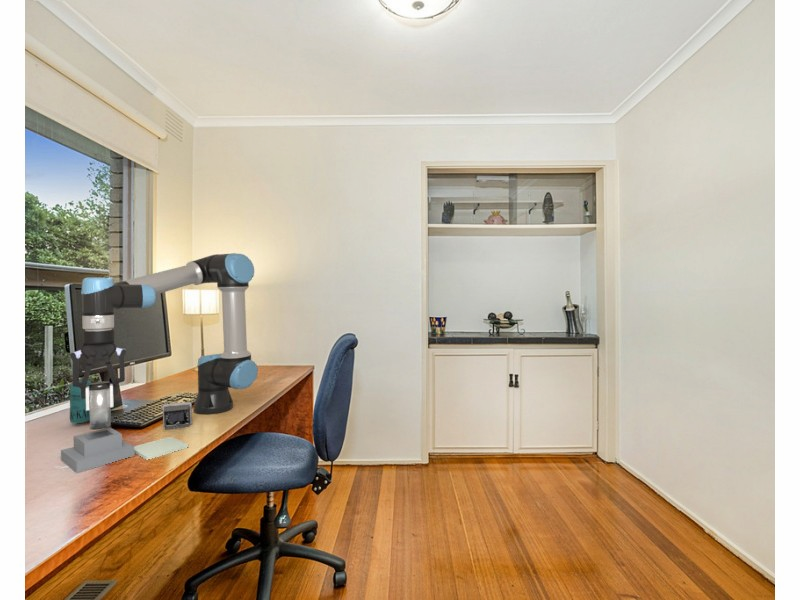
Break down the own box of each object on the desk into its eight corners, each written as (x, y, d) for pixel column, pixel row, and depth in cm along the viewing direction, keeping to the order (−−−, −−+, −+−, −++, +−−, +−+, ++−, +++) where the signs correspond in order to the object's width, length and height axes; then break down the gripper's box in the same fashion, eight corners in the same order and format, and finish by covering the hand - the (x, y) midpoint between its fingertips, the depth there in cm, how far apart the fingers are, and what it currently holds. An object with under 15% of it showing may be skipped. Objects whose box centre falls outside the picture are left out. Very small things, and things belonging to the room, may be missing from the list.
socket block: (116, 445, 130) (116, 424, 129) (134, 456, 121) (134, 433, 121) (61, 460, 118) (60, 436, 118) (76, 473, 110) (76, 447, 110)
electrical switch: (192, 424, 151) (191, 400, 150) (191, 429, 146) (190, 405, 145) (163, 427, 147) (162, 402, 146) (161, 433, 143) (160, 408, 142)
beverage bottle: (73, 422, 152) (73, 369, 151) (94, 420, 154) (94, 368, 154) (66, 428, 146) (65, 373, 145) (88, 426, 148) (87, 372, 147)
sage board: (170, 439, 135) (170, 436, 135) (188, 447, 128) (188, 444, 128) (130, 450, 126) (130, 447, 126) (146, 460, 118) (146, 457, 118)
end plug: (107, 422, 124) (106, 380, 123) (113, 426, 121) (112, 382, 120) (87, 427, 120) (86, 383, 119) (93, 430, 117) (92, 386, 116)
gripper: (57, 332, 111) (58, 416, 112) (135, 329, 121) (136, 405, 122) (61, 330, 117) (62, 409, 118) (135, 327, 127) (136, 400, 128)
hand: (100, 407), depth 120 cm, fingers closed on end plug, 5 cm apart
